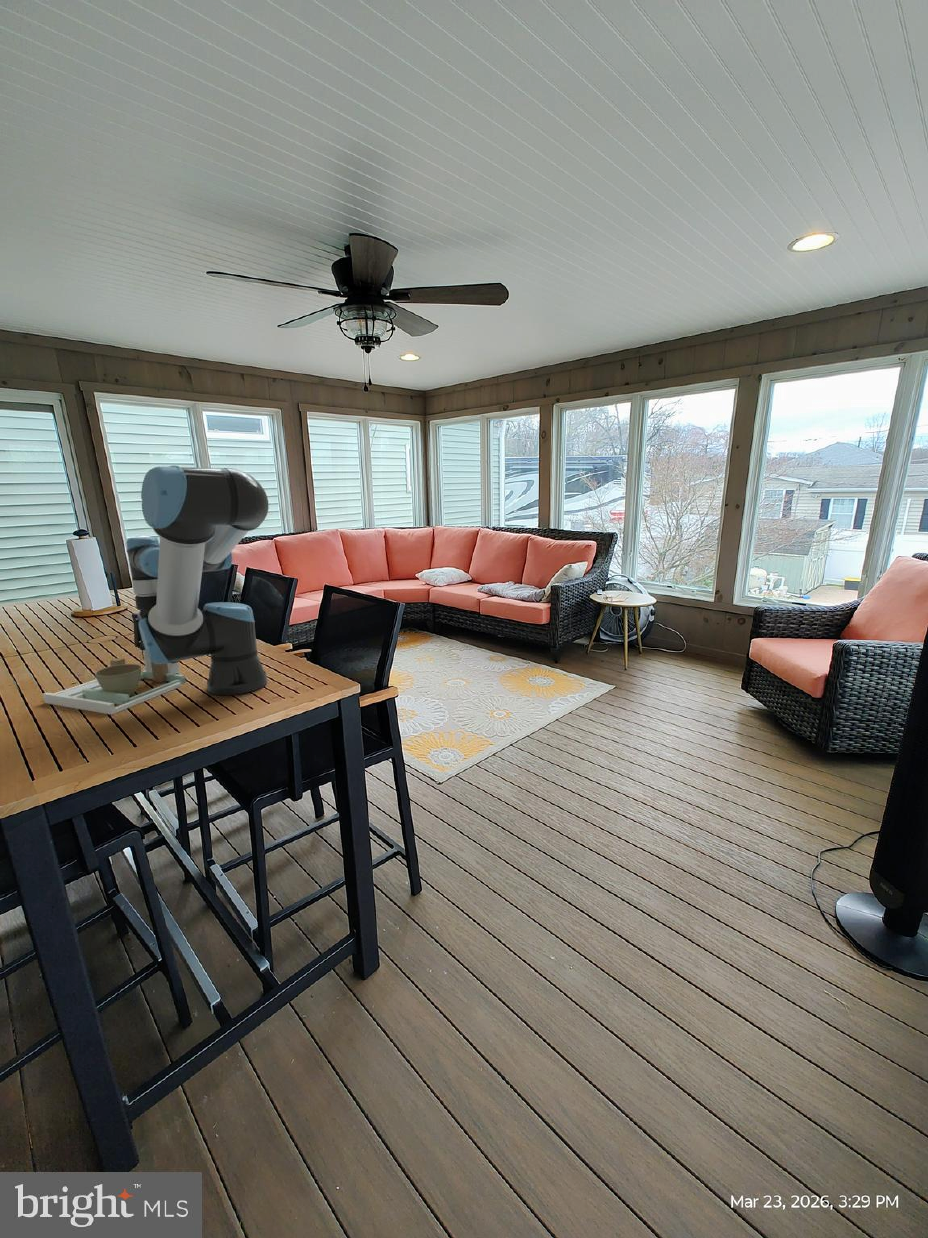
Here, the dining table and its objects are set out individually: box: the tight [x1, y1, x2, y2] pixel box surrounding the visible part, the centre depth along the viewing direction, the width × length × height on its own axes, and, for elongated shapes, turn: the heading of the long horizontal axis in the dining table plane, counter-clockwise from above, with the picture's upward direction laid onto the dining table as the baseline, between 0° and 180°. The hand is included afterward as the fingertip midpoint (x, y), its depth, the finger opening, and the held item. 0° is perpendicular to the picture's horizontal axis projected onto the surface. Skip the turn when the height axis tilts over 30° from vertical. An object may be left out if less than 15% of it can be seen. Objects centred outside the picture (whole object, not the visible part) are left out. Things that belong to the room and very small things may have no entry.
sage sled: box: [82, 662, 186, 706], centre depth 137 cm, size 15×19×10 cm
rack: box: [42, 678, 182, 715], centre depth 134 cm, size 26×20×2 cm
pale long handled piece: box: [59, 657, 126, 696], centre depth 138 cm, size 4×19×6 cm, turn 161°
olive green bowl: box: [94, 663, 142, 697], centre depth 133 cm, size 10×10×7 cm
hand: (162, 672), depth 145 cm, fingers closed on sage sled, 8 cm apart
